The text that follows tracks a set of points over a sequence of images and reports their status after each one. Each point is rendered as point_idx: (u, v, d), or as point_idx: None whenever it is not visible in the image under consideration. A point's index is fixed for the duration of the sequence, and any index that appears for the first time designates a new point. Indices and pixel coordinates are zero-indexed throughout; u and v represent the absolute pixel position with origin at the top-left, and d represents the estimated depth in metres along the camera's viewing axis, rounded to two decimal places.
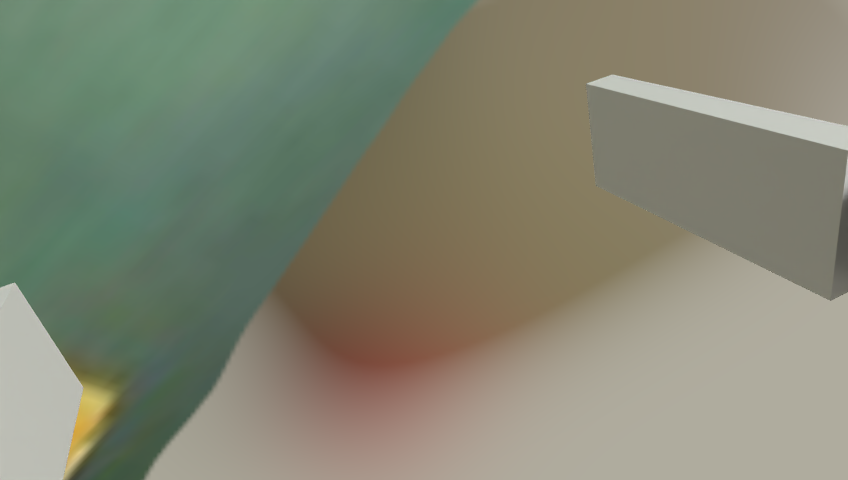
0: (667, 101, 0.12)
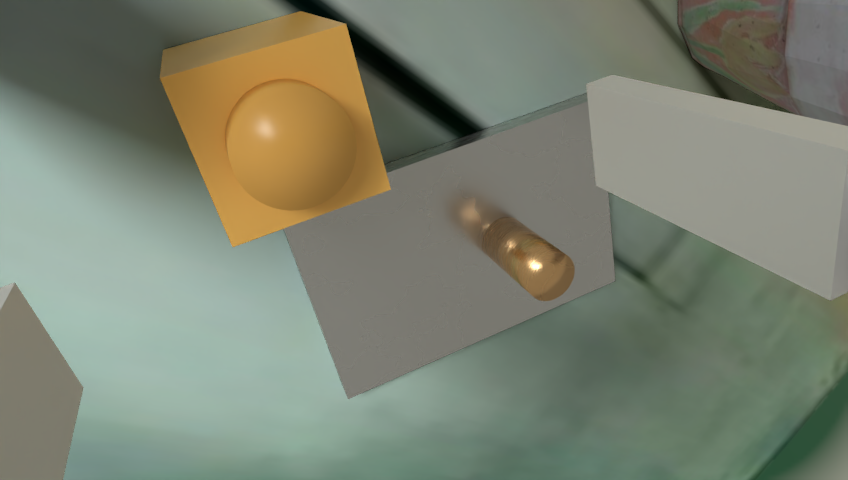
0: (667, 101, 0.12)
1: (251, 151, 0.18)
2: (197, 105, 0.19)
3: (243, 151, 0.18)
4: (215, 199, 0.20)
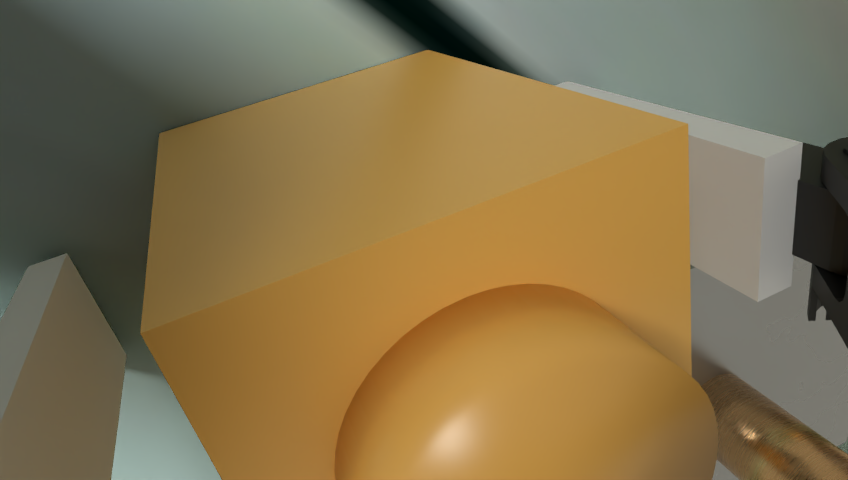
0: None
1: None
2: (261, 391, 0.06)
3: None
4: None
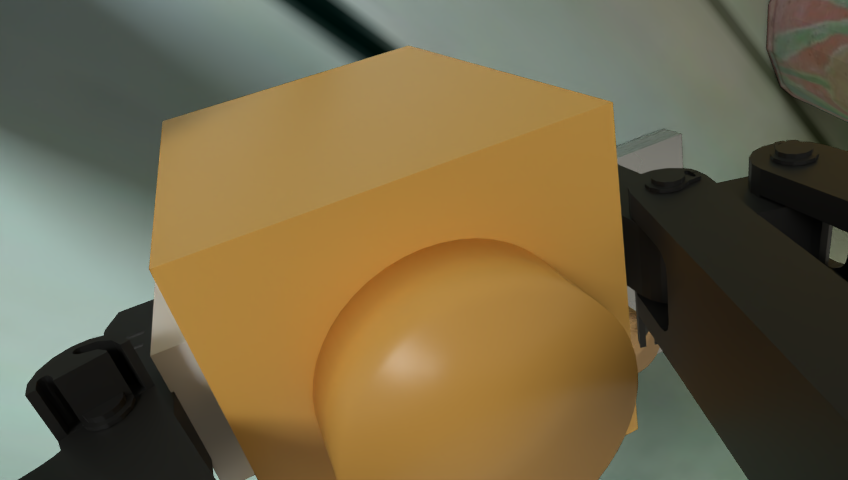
0: None
1: (397, 458, 0.07)
2: (249, 323, 0.07)
3: (377, 462, 0.07)
4: None
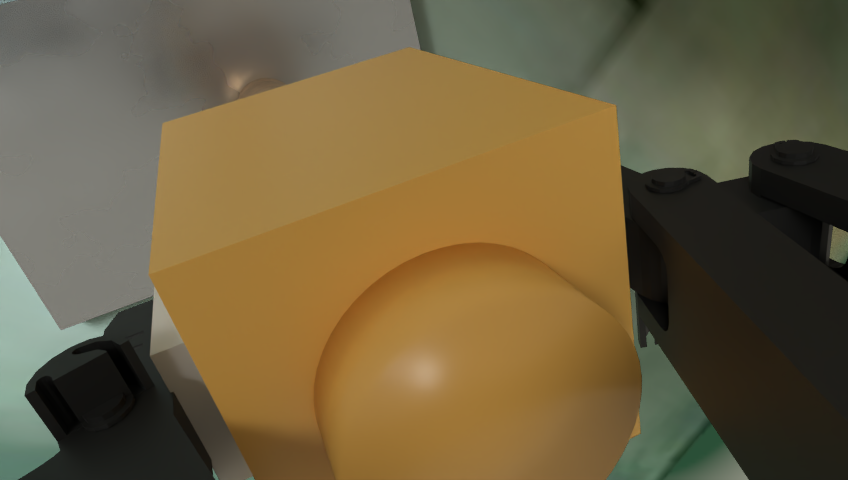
0: None
1: (398, 465, 0.07)
2: (249, 328, 0.07)
3: (378, 469, 0.07)
4: None
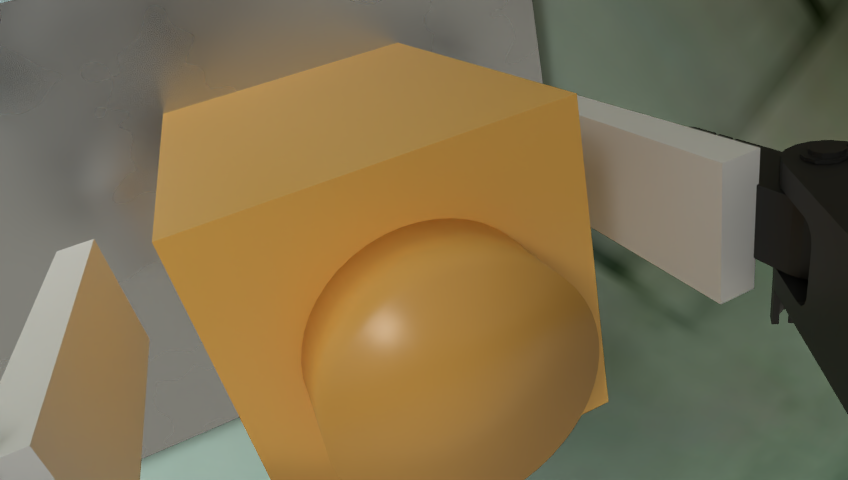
0: (582, 112, 0.13)
1: (376, 414, 0.08)
2: (242, 294, 0.08)
3: (357, 417, 0.07)
4: (275, 472, 0.09)
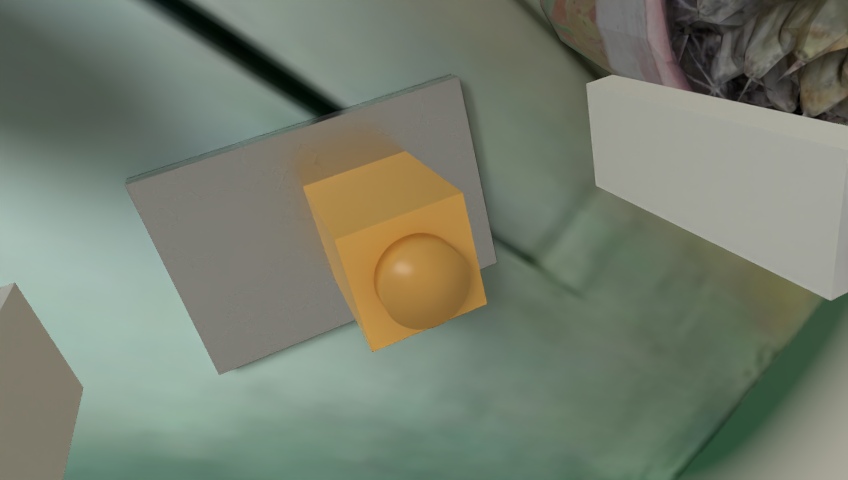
0: (667, 101, 0.12)
1: (398, 291, 0.25)
2: (357, 256, 0.26)
3: (393, 291, 0.25)
4: (363, 319, 0.27)
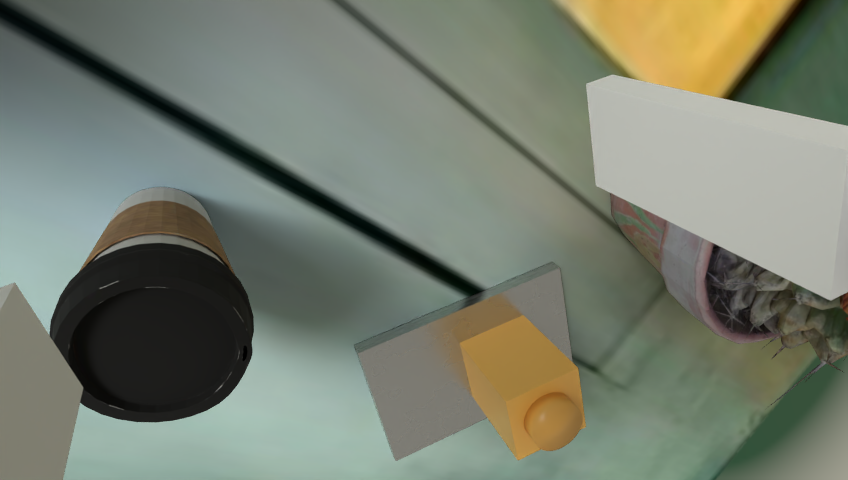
0: (667, 101, 0.12)
1: (542, 431, 0.42)
2: (516, 409, 0.43)
3: (539, 431, 0.42)
4: (515, 442, 0.44)
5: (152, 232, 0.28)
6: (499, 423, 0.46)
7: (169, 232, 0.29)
